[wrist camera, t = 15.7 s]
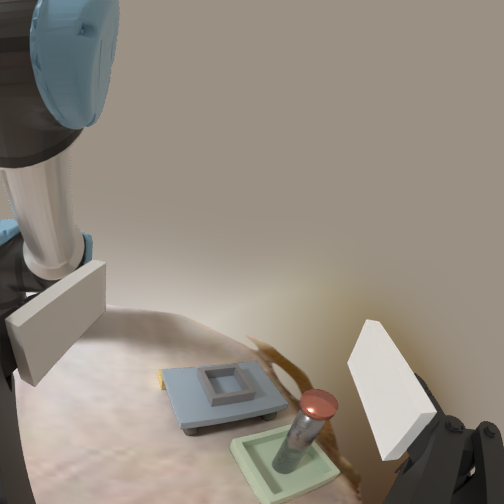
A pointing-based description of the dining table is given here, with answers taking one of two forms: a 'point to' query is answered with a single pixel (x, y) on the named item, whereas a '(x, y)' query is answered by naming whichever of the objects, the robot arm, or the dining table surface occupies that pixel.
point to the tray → (271, 482)
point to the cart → (220, 394)
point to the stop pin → (304, 428)
